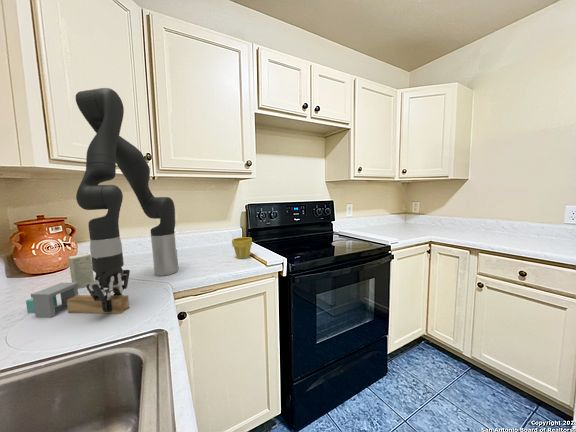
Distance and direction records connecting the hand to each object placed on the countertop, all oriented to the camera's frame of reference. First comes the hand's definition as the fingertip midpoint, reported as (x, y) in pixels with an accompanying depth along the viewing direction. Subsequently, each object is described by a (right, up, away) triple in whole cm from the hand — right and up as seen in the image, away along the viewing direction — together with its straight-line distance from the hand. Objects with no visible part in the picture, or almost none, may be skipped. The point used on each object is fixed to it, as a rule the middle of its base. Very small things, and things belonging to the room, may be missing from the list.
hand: (113, 308), depth 74 cm
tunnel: (-18, -1, +2) cm, 18 cm away
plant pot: (+29, +6, +55) cm, 63 cm away
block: (-24, -1, +3) cm, 24 cm away
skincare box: (-27, 0, +21) cm, 34 cm away
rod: (-5, -1, 0) cm, 5 cm away
